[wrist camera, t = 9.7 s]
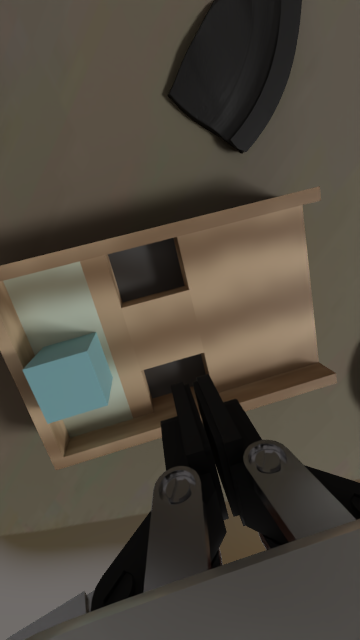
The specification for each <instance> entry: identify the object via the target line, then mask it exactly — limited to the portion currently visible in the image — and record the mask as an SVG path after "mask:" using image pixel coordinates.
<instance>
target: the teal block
mask: <svg viewBox="0 0 360 640" xmlns="http://www.w3.org/2000/svg"><path fill="white" fill-rule="evenodd" d="M23 372H24V375H25V377H26V379H27V381H28V383H29V385H30V387H31V390H32V392H33V394H34V396H35V398H36V400H37V402H38V405H39V407H40V409H41V411H42V413H43V415H44V417H45V420H46V422H47V424H49V423H52V422H56V421H59V420H62V419H65V418H69V417H72V416H75V415H78V414H82V413H85V412H88V411H91V410H95V409H98V408H101V407H104V406H108V402H109V397H110V391H111V386H112V380H113V377H112V374H111V371H110V369H109V366H108V363H107V360H106V358H105V355H104V352H103V349H102V347H101V344H100V341H99V338H98V336H97V333H96V332H94V333H90V334H87V335H83V336H80V337H76V338H73V339H69V340H66V341H62V342H59V343H56V344H52V345H49V346H45V347H43V348H42V349H41V350H40V351H39V352H38V353H37V354H36V356H35V357H34V358H33V359H32V360H31V361H30V362H29V363H28V364H27V365H26V366H25V368H24V369H23Z"/></svg>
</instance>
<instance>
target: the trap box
mask: <svg viewBox="0 0 360 640" xmlns="http://www.w3.org/2000/svg"><path fill="white" fill-rule="evenodd" d="M320 200H321V194H320V186H319V187H315V188H311V189H307V190H303V191H299V192H295V193H291V194H287V195H283V196H279V197H275V198H271V199H267V200H263V201H259V202H255V203H251V204H247V205H243V206H238V207H234V208H230V209H226V210H222V211H218V212H214V213H210V214H206V215H202V216H198V217H194V218H190V219H186V220H182V221H178V222H174V223H170V224H166V225H162V226H158V227H154V228H150V229H146V230H142V231H138V232H134V233H130V234H126V235H122V236H118V237H114V238H110V239H106V240H102V241H98V242H94V243H90V244H86V245H82V246H78V247H74V248H70V249H66V250H62V251H58V252H53V253H49V254H45V255H41V256H37V257H33V258H29V259H25V260H21V261H17V262H13V263H9V264H5V265H1V266H0V351H1V354H2V356H3V358H4V360H5V362H6V364H7V366H8V369H9V371H10V373H11V375H12V377H13V379H14V381H15V384H16V386H17V388H18V390H19V392H20V394H21V397H22V399H23V401H24V403H25V405H26V407H27V409H28V412H29V414H30V416H31V418H32V420H33V422H34V424H35V427H36V429H37V431H38V433H39V435H40V437H41V439H42V442H43V444H44V446H45V448H46V450H47V452H48V454H49V457H50V459H51V461H52V463H53V465H54V467H55V469H56V470H59V469H62V468H65V467H68V466H71V465H75V464H78V463H81V462H84V461H87V460H91V459H94V458H97V457H100V456H104V455H107V454H110V453H113V452H116V451H120V450H123V449H126V448H129V447H132V446H136V445H139V444H142V443H145V442H149V441H152V440H155V439H158V438H161V437H162V433H161V425H160V421H162V420H166V419H169V418H172V417H176V416H177V412H176V408H175V403H174V399H173V394H172V390H171V385H172V384H175V383H179V382H182V381H183V384H187V383H189V386H190V389H191V392H192V395H193V398H194V400H195V403H196V406H197V409H198V412H199V415H200V411H199V407H198V403H197V399H196V395H195V391H194V387H193V383H192V382H194V381H197V380H196V377H199V376H203V375H206V374H209V376H210V377H211V379H212V381H213V383H214V385H215V387H216V389H217V391H218V393H219V395H220V397H221V399H222V401H223V402H226V401H229V400H232V399H237V400H238V402H239V403H240V405H241V406H242V408H243V410H244V411H248V410H251V409H255V408H258V407H261V406H264V405H267V404H271V403H274V402H277V401H280V400H283V399H287V398H290V397H293V396H296V395H300V394H303V393H306V392H309V391H312V390H316V389H319V388H322V387H325V386H328V385H332V384H335V383H337V379H336V373H335V372H333V371H331V370H330V369H328V368H327V367H325V366H324V365H322V364H320V363H319V360H318V350H317V340H316V331H315V321H314V312H313V302H312V293H311V283H310V274H309V264H308V255H307V245H306V236H305V226H304V217H303V207H302V205H305V204H309V203H312V202H316V201H320ZM94 332H96V333H97V336H98V338H99V341H100V344H101V347H102V349H103V352H104V355H105V358H106V360H107V363H108V366H109V369H110V371H111V374H112V377H113V380H112V386H111V391H110V397H109V402H108V406H104V407H101V408H98V409H95V410H91V411H88V412H85V413H82V414H78V415H75V416H72V417H69V418H65V419H62V420H59V421H56V422H52V423H49V424H47V422H46V420H45V417H44V415H43V413H42V411H41V409H40V407H39V405H38V402H37V400H36V398H35V396H34V394H33V392H32V390H31V387H30V385H29V383H28V381H27V379H26V377H25V375H24V372H23V369H24V368H25V366H26V365H27V364H28V363H29V362H30V361H31V360H32V359H33V358H34V357H35V356H36V354H37V353H38V352H39V351H40V350H41V349H42V348H43V347H45V346H49V345H52V344H56V343H59V342H62V341H66V340H69V339H73V338H76V337H80V336H83V335H87V334H90V333H94ZM200 418H201V415H200ZM201 420H202V419H201Z"/></svg>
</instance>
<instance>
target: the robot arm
mask: <svg viewBox="0 0 360 640" xmlns="http://www.w3.org/2000/svg"><path fill="white" fill-rule="evenodd" d="M196 380H197V381H194V382H192V383H193V387H194V391H195V395H196V399H197V403H198V407H199V411H200V415H201V418H200V415H199V412H198V409H197V406H196V403H195V400H194V398H193V395H192V392H191V389H190V386H189V383H187V384H183V381H182V382H179V383H175V384H172V385H171V390H172V394H173V399H174V403H175V408H176V412H177V416H176V417H172V418H169V419H166V420H162V421H160V425H161V433H162V441H163V449H164V457H165V465H166V471H165V472H164V473H163V474H162V475H161V476H160V477H159V478H158V480H157V481H156V483H155V486H154V490H153V500H152V510H151V511H150V513H149V514H148V515H147V517H146V518H145V519H144V521H143V522H142V523H141V525H140V526H139V528H138V529H137V530H136V532H135V533H134V534H133V536H132V537H131V538H130V540H129V541H128V542H127V544H126V545H125V547H124V548H123V549H122V550H121V552H120V553H119V555H118V556H117V557H116V559H115V560H114V561H113V563H112V564H111V565H110V567H109V568H108V570H107V571H106V572H105V573H104V575H103V576H102V578H101V579H100V581H99V583H98V584H97V586H96V588H95V590H94V591H92V592H91V593H89V594H88V595H86V593H85V592H82V593H81V594H79V595H77V596H75V597H74V598H72V599H70V600H69V601H67V602H66V603H64V604H62V605H61V606H59V607H57V608H56V609H54V610H53V611H51V612H49V613H48V614H46V615H44V616H43V617H41V618H39V619H38V620H36V621H35V622H33V623H31V624H30V625H28V626H26V627H25V628H23V629H21V630H20V631H18V632H17V633H15V634H13V635H12V636H10V637H9V638H8V639H6V640H360V483H358V482H355V481H352V480H349V479H346V478H342V477H339V476H336V475H333V474H330V473H327V472H324V471H321V470H317V469H314V468H311V467H308V466H305V465H303V464H302V463H301V462H300V461H299V460H298V459H297V458H296V457H295V456H294V455H293V453H292V452H291V451H290V450H289V449H288V448H287V447H285V446H284V445H283V444H281V443H279V442H276V441H272V440H262V439H261V437H260V436H259V434H258V432H257V431H256V429H255V428H254V426H253V424H252V423H251V421H250V419H249V418H248V416H247V415H246V413H245V411H244V410H243V408H242V406H241V405H240V403H239V402H238V400H237V399H232V400H229V401H226V402H223V401H222V399H221V397H220V395H219V393H218V391H217V389H216V387H215V385H214V383H213V381H212V379H211V377H210V376H209V374H206V375H203V376H199V377H196ZM201 419H202V420H201ZM215 464H216V465H215ZM216 467H217V469H216ZM217 470H218V473H219V476H220V479H221V482H222V485H223V488H224V490H225V493H226V496H227V499H228V502H229V505H230V508H231V511H232V514H233V516H238V515H240V518H241V521H242V523H243V526H245V525H246V526H247V527H249V528H252V529H253V530H255V531H257V532H258V533H259V536H260V539H261V541H262V543H263V545H264V546H265V548H266V551H263V552H260V553H257V554H254V555H251V556H248V557H245V558H243V559H239V560H236V561H234V562H231V563H228V564H225V565H222V558H221V553H220V549H219V547H220V545H221V543H222V541H223V538H224V536H225V534H226V528H225V524H224V520H225V519H228V518H229V517H228V513H227V509H226V505H225V501H224V497H223V493H222V489H221V485H220V481H219V477H218V473H217Z"/></svg>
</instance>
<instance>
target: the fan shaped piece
mask: <svg viewBox="0 0 360 640" xmlns="http://www.w3.org/2000/svg"><path fill="white" fill-rule="evenodd" d="M301 4H302V0H214V2H213V3H212V5H211V8H210V10H209V11H208V13H207V15H206V17H205V18H204V20H203V22H202V24H201V26H200V28H199V30H198V32H197V34H196V35H195V37H194V39H193V41H192V43H191V45H190V47H189V49H188V51H187V53H186V55H185V57H184V59H183V62H182V64H181V66H180V69H179V71H178V74H177V77H176V79H175V82H174V84H173V86H172V88H171V90H170V92H169V94H168V97H170V98H171V99H172V100H173V102H174V103H175V104H176V105H177V106H178V107H179V108H180V109H181V110H182V111H183V112H184V113H186V114H187V115H188V116H189V117H190V118H192V119H193V120H194V121H195V122H197V123H198V124H200V125H201V126H203V127H204V128H206V129H208V130H210V131H211V132H213V133H215V134H217V135H219V136H221V137H223V138H224V140H225V141H226V142H228V143H230V144H231V145H232V146H233V147H235V148H237V149H238V150H239V151H240V152H241V153H243V152H247V151H248V149H249V148H250V147H251V146H252V145H253V143H254V142H255V141H256V139H257V138H258V137H259V135H260V134H261V133H262V131H263V130H264V128H265V127H266V125H267V123H268V122H269V120H270V118H271V117H272V115H273V113H274V111H275V109H276V107H277V105H278V103H279V101H280V99H281V96H282V94H283V92H284V89H285V86H286V84H287V81H288V78H289V75H290V71H291V67H292V64H293V59H294V55H295V50H296V45H297V39H298V32H299V25H300V16H301Z"/></svg>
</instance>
